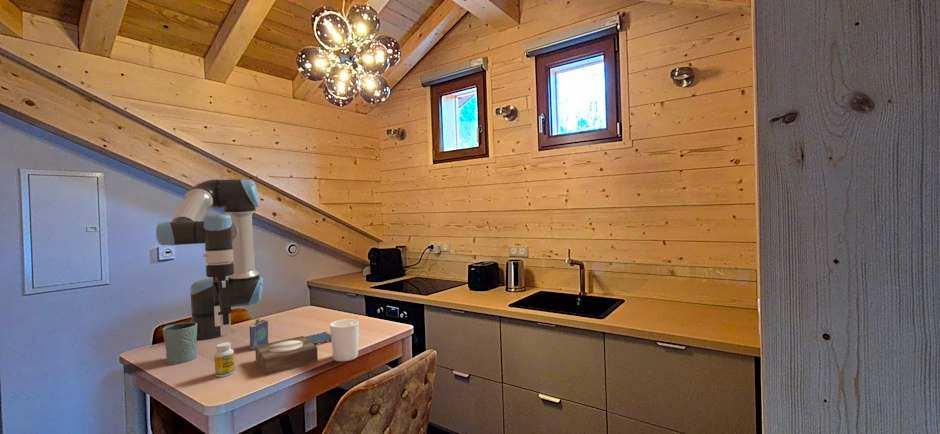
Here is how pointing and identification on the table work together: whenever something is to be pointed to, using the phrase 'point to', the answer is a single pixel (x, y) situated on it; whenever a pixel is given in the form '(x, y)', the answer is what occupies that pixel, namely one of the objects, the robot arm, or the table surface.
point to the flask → (258, 333)
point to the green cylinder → (180, 342)
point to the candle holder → (345, 339)
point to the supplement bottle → (224, 360)
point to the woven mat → (319, 338)
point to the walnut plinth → (285, 354)
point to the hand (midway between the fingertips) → (222, 330)
